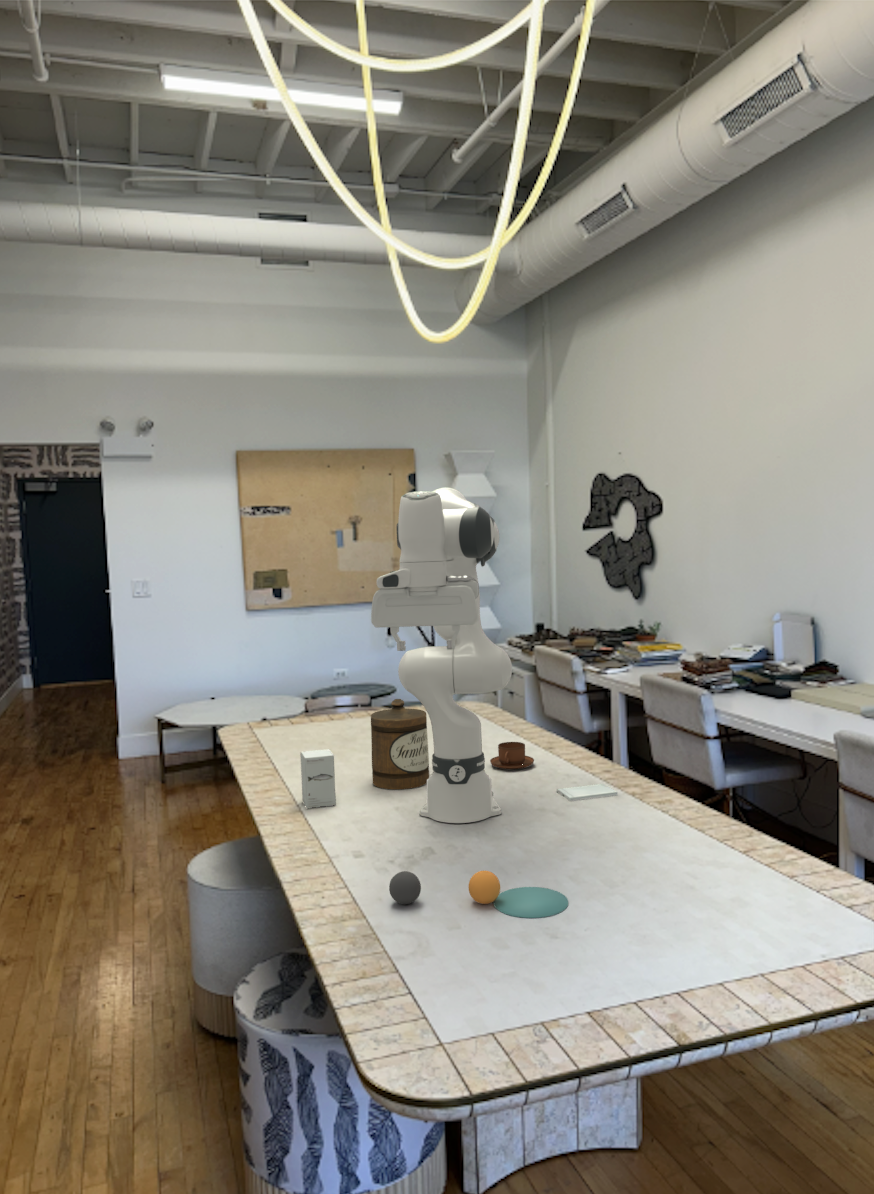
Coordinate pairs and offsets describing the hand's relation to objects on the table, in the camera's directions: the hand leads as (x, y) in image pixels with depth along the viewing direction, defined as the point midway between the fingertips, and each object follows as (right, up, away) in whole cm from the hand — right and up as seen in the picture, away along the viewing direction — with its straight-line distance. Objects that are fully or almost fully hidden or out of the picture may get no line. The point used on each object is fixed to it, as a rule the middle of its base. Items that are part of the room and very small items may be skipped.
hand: (426, 649), depth 175 cm
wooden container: (-7, -39, +66) cm, 77 cm away
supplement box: (-27, -41, +50) cm, 70 cm away
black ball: (-4, -41, -12) cm, 43 cm away
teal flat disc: (+18, -43, -14) cm, 49 cm away
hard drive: (+39, -39, +50) cm, 74 cm away
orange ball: (+10, -41, -13) cm, 44 cm away
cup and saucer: (+23, -37, +78) cm, 89 cm away
